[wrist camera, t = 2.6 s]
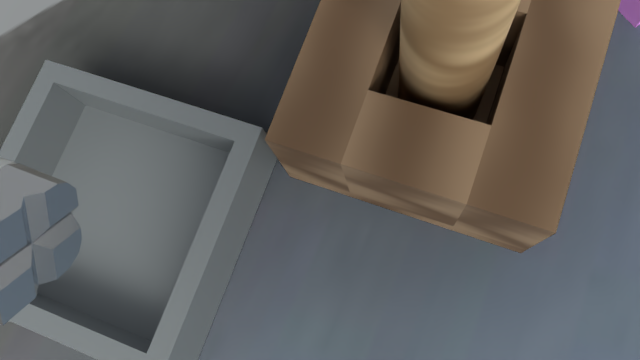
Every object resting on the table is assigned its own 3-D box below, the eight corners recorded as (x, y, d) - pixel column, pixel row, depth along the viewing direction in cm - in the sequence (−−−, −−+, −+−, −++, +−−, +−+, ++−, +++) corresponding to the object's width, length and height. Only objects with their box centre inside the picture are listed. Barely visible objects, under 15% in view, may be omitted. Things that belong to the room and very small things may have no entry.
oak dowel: (489, 74, 28) (606, -230, 13) (465, 146, 27) (561, -85, 12) (412, 53, 29) (435, -257, 13) (387, 122, 28) (382, -122, 13)
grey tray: (279, 153, 29) (262, 127, 26) (191, 377, 27) (157, 385, 23) (87, 91, 32) (45, 59, 28) (-9, 291, 30) (-69, 286, 26)
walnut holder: (584, 35, 29) (631, -37, 23) (520, 253, 27) (555, 232, 21) (365, -19, 31) (359, -97, 26) (290, 176, 29) (264, 139, 23)
